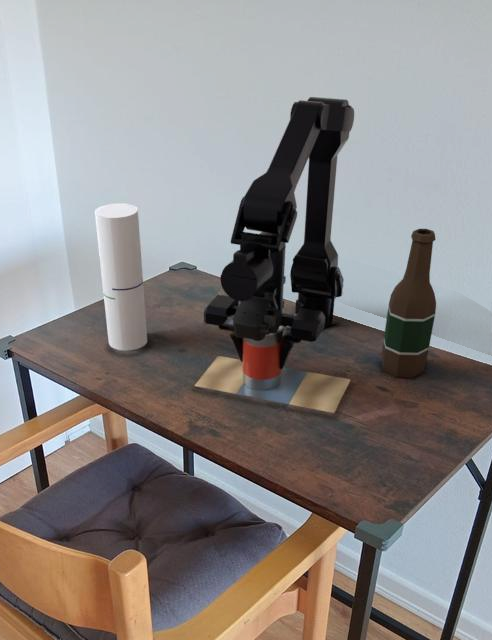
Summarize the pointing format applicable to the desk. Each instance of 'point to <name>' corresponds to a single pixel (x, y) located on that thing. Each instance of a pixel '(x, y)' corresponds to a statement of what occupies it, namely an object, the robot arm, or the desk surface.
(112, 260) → the cylindrical container
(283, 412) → the desk surface
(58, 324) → the desk surface
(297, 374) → the board
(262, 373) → the tin can
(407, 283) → the beer bottle
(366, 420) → the desk surface
